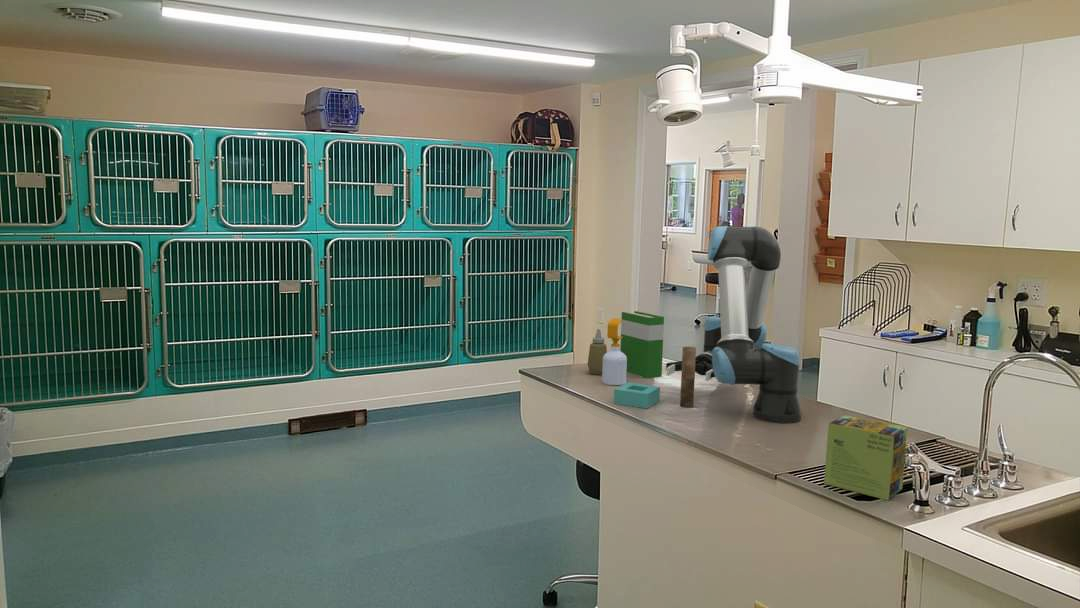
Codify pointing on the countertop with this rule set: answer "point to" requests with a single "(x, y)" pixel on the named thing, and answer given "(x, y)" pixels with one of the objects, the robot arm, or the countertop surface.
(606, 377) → the soap bottle
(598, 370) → the squeeze bottle
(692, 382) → the dowel
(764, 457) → the countertop surface
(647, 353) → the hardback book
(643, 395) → the socket
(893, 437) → the protein box
